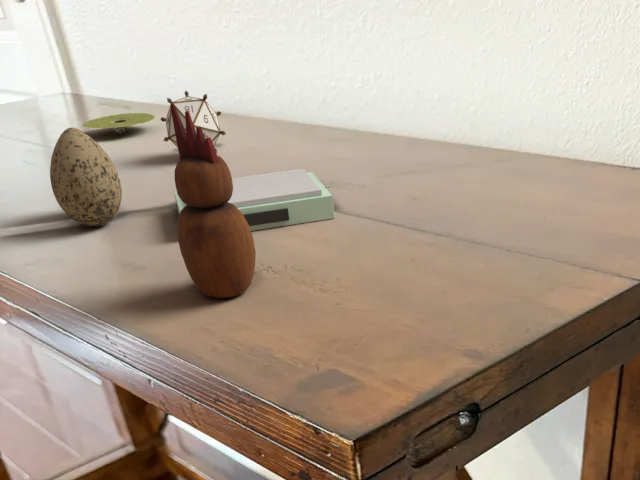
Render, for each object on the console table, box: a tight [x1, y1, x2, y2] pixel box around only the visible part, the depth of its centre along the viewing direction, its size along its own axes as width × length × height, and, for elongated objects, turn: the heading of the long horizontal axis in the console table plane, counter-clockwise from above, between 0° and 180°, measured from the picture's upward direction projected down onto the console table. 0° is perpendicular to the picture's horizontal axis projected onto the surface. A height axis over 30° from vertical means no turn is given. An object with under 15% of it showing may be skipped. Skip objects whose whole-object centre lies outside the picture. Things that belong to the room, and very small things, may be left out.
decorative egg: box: [49, 127, 123, 228], centre depth 88 cm, size 7×7×10 cm
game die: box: [159, 90, 227, 154], centre depth 112 cm, size 9×8×10 cm
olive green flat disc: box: [82, 112, 155, 135], centre depth 130 cm, size 11×11×2 cm
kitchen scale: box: [173, 168, 336, 232], centre depth 90 cm, size 16×11×3 cm
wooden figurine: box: [169, 103, 257, 299], centre depth 68 cm, size 7×6×15 cm
